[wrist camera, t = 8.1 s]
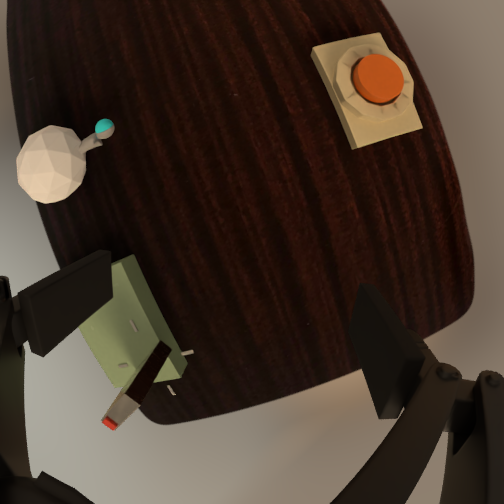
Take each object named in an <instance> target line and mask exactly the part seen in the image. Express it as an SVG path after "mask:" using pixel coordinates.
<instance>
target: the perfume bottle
mask: <svg viewBox="0 0 504 504" xmlns="http://www.w3.org/2000/svg"><path fill="white" fill-rule="evenodd" d="M95 131H96V133H93V134H92V135H90V136H89V137H87V138H85V139H84V140H83V141H82V142H81V140H80V139H79V138H78V136H77V135H76V134H75V132H74V131H73V130H72V129H68V128H63V127H58V126H53V125H50V126H47V127H45V128H44V129H42V130H40V131H38V132H36V133H34V134H32V135H30V136H29V137H28V139H27V140H26V142H25V144H24V146H23V147H22V149H21V151H20V153H19V155H18V157H17V159H16V160H17V174H18V183H19V185H21V187H22V188H23V189H24V190H25V191H26V192H27V193H28V194H29V195H30V197H31V198H32V199H33V200H36V201H39V202H42V203H52V202H56V201H59V200H62V199H65V198H67V197H68V196H69V195H70V194H71V193H73V192H74V191H75V190H76V189H77V188H78V186H79V185H80V184H81V183H82V180H83V177H84V175H85V172H86V151H88V150H90V149H92V148H94V147H97V146H101V145H103V143H102V141H101V139H105V138H108V137H110V136H111V135H112V134H113V132H114V124H113V123H112V121H111V120H109V119H102V120H100V121H99V122H98V123H97V124H96V127H95Z"/></svg>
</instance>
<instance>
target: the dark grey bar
mask: <svg viewBox="0 0 504 504" xmlns="http://www.w3.org/2000/svg"><path fill="white" fill-rule="evenodd" d="M171 351H172V348H170V347H169V346H168V345H166V344H165V343H164V342H163V341H161V340H160V341H159V342H158V343H157V344H156V346H155V347H154V348H153V349H152V350H151V351H150V353H149V354H148V355H147V356H146V357H145V359H144V360H143V361H142V362H141V363H140V365H139V366H138V367H137V368H136V369H135V371H134V372H133V374H132V375H131V377H130V378H129V380H128V381H127V383H126V384H125V386H124V387H123V388H122V390H121V391H120V393H119V394H118V396H117V397H116V399H115V400H114V402H113V403H112V405H111V406H110V408H109V409H108V411H107V413H106V414H105V415H104V417H103V418H102V423H103V424H105V425H106V426H107V427H109V428H110V429H112V430H116V429H117V428H118V427H119V426H120V425H121V424H122V423H123V422H124V421H125V420H126V419H127V418H128V417H129V416H130V415H131V414H132V413H133V412H134V411H135V410H136V409H137V408H138V407H139V406H140V405H141V403H142V402H143V400H144V398H145V396H146V394H147V393H148V391H149V389H150V387H151V386H152V384H153V382H154V380H155V379H156V377H157V375H158V374H159V372H160V370H161V368H162V367H163V365H164V363H165V361H166V360H167V358H168V356H169V354H170V353H171Z"/></svg>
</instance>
